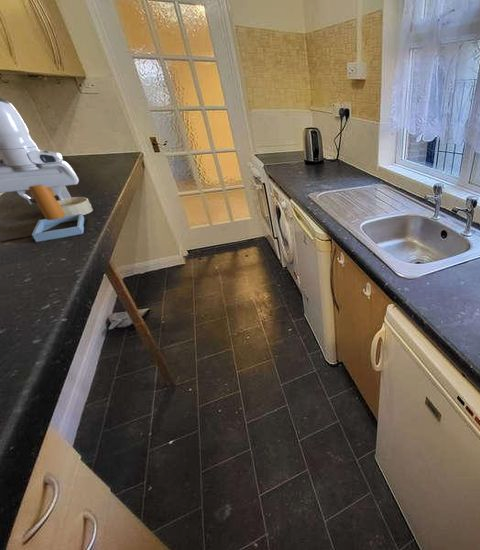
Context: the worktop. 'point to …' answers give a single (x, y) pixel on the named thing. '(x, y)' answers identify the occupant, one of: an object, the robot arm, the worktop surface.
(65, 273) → the worktop surface
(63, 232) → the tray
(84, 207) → the bowl
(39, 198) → the orange capped cylinder
